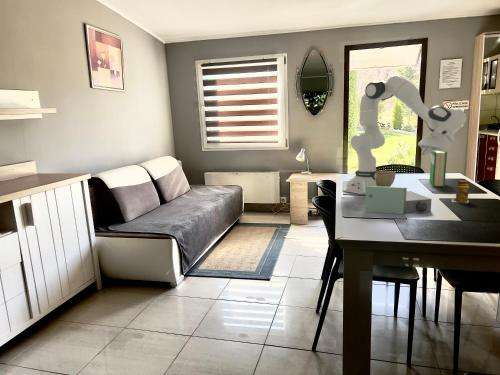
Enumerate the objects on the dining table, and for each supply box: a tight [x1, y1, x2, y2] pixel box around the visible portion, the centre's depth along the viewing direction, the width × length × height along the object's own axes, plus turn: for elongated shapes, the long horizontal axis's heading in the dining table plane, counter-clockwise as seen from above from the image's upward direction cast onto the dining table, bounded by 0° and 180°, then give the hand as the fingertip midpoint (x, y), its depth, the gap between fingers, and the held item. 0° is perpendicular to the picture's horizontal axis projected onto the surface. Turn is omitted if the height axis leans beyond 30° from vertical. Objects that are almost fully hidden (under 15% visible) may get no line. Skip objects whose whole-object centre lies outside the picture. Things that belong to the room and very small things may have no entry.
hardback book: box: [429, 150, 448, 188], centre depth 257 cm, size 18×7×24 cm, turn 161°
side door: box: [364, 186, 408, 215], centre depth 195 cm, size 20×2×14 cm, turn 67°
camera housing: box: [404, 190, 433, 215], centre depth 202 cm, size 22×14×7 cm, turn 8°
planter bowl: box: [376, 170, 397, 187], centre depth 255 cm, size 16×16×11 cm
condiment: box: [451, 179, 470, 204], centre depth 213 cm, size 7×8×12 cm
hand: (423, 154), depth 199 cm, fingers closed
